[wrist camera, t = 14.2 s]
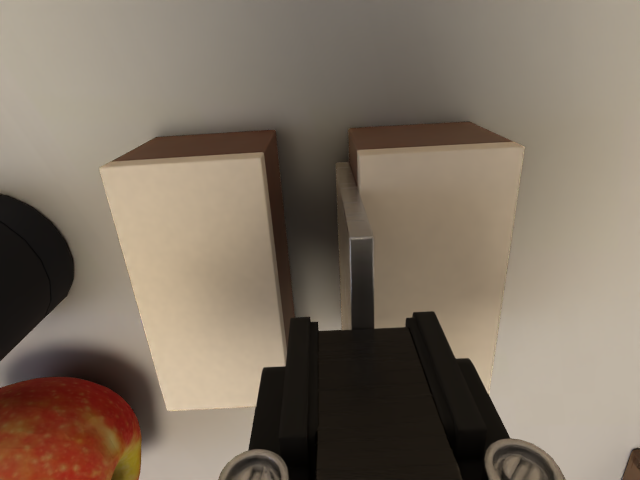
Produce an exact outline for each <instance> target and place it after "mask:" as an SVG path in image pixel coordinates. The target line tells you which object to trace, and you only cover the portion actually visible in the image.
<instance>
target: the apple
mask: <svg viewBox="0 0 640 480" xmlns="http://www.w3.org/2000/svg"><path fill="white" fill-rule="evenodd" d="M141 440H142V438H141V431H140V426H139V422H138V420H137V417H136V415H135V413H134V412H133V409H131V407H130V406H129V404H128V403H127V402H126V401H125V400H124V399H123V398H122V397H121V396H119V395H118V394H117V393H115V392H114V391H112V390H111V389H109V388H107V387H105V386H102V385H99V384H96V383H94V382H91V381H87V380H83V379H79V378H72V377H45V378H36V379H31V380H27V381H22V382H18V383H15V384H11V385H8V386H5V387H2V388H0V480H138V479H139V475H140V467H141Z"/></svg>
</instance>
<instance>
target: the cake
mask: <svg viewBox="0 0 640 480" xmlns="http://www.w3.org/2000/svg"><path fill="white" fill-rule="evenodd" d="M99 171H100V175H101V178H102V182H103V185H104V189H105V192H106V196H107V200H108V203H109V207H110V210H111V214H112V217H113V221H114V224H115V228H116V232H117V235H118V239H119V242H120V246H121V249H122V253H123V256H124V260H125V264H126V267H127V271H128V274H129V278H130V281H131V285H132V288H133V292H134V296H135V299H136V303H137V306H138V310H139V313H140V317H141V320H142V324H143V328H144V331H145V335H146V338H147V342H148V345H149V349H150V352H151V356H152V360H153V363H154V367H155V370H156V374H157V377H158V381H159V384H160V388H161V392H162V395H163V399H164V402H165V406H166V409H167V411H181V410H201V409H220V408H240V407H256V403H257V398H258V392H259V386H260V380H261V374H262V370H263V368H264V367H282V366H286V357H287V347H288V337H289V327H290V319H291V318H295V313H294V304H293V294H292V284H291V274H290V265H289V255H288V245H287V236H286V226H285V216H284V206H283V197H282V187H281V177H280V167H279V158H278V148H277V138H276V131H275V130H261V131H245V132H229V133H214V134H198V135H182V136H167V137H156V138H154V139H152V140H150V141H148V142H146V143H145V144H143V145H141V146H139V147H137V148H135V149H133V150H132V151H130V152H128V153H126V154H124V155H122V156H120V157H119V158H117V159H115V160H113V161H111V162H109V163H107V164H105V165H103V166H101V167H100V168H99Z"/></svg>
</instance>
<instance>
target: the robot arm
mask: <svg viewBox="0 0 640 480" xmlns="http://www.w3.org/2000/svg"><path fill="white" fill-rule="evenodd" d="M405 327H409V328H410V331H411V334H412V336H413V339H414V342H415V345H416V348H417V351H418V354H419V357H420V360H421V363H422V365H423V368H424V371H425V374H426V377H427V380H428V383H429V386H430V389H431V392H432V394H433V397H434V400H435V403H436V406H437V409H438V412H439V415H440V418H441V421H442V423H443V424H444V427H445V429H446V432H447V435H448V438H449V441H450V444H451V447H452V449H453V452H454V455H455V458H456V461H457V464H458V467H459V470H460V472H461V475H462V478H463V480H566V479H565V477H564V475H563V474H562V472H561V470H560V468H559V467H558V465H557V464H556V462H555V461H554V460H553V458H552V457H550V456H549V455H548V454H547V453H546V452H545V451H544V450H542V449H540V448H539V447H537V446H535V445H534V444H532V443H529V442H526V441H523V440H519V439H511V438H510V437H509V435H508V433H507V431H506V429H505V427H504V425H503V423H502V421H501V419H500V417H499V415H498V413H497V411H496V409H495V407H494V405H493V403H492V401H491V399H490V397H489V395H488V393H487V391H486V389H485V387H484V385H483V383H482V381H481V379H480V377H479V375H478V372H477V370H476V368H475V366H474V364H473V363H472V361H471V360H470V359H469V358H458V359H456V358H455V356H454V354H453V352H452V349H451V347H450V345H449V343H448V341H447V338H446V336H445V334H444V332H443V329H442V327H441V325H440V323H439V320H438V318H437V316H436V314H435V312H434V311H427V312H414V313H413V315H412V317H411V318H406V323H405ZM317 429H318V322H311V321H310V317H300V318H291V319H290V327H289V337H288V347H287V357H286V366H282V367H264V368H263V370H262V374H261V380H260V386H259V392H258V398H257V403H256V409H255V415H254V421H253V427H252V433H251V438H250V444H249V450H248V451H245V452H243V453H241V454H239V455H237V456H235V457H234V458H233V459H232V460H231V461H230V462H228V463H227V465H226V466H225V467H224V469H223V470H222V472H221V474H220V476H219V479H218V480H315V439H316V430H317Z"/></svg>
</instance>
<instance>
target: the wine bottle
mask: <svg viewBox="0 0 640 480" xmlns="http://www.w3.org/2000/svg"><path fill="white" fill-rule="evenodd" d="M72 281H73V260H72V257H71V255H70V252H69V250H68V247H67V244H66V242H65V240H64V239H63V238H62V236H61V235H60V234H59V232H58V231H57V230H56V228H55V227H54V226H53V224H52V223H51V222H50V221H48V220H47V219H46V218H45V217H43V216H42V215H41V214H40V213H38V212H37V211H36V210H35V209H33V208H32V207H30V206H28V205H26V204H24V203H22V202H20V201H17V200H15V199H13V198H11V197H9V196H4V195H0V361H1V360H2V359H3V358H4V357H5V356H6V355H7V354H8V353H9V352H10V351H11V350H12V349H13V348H14V347H15V346H16V345H17V344H18V343H19V342H20V341H21V340H22V339H23V338H24V337H25V336H26V335H27V334H28V333H29V332H30V331H31V330H32V329H33V328H35V327H36V326H37V325H38V324H39V323H40V322H41V321H42V320H43V319H44V318H45V317H46V316H47V315H48V314H49V313H50V312H51V311H52V310H53V309H54V308H55V307H56V306H57V305H58V304H59V303H60V302H61V301H62V300H63V299H64V298H65V297H66V296H67V294H68V292H69V289H70V287H71V284H72Z"/></svg>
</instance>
